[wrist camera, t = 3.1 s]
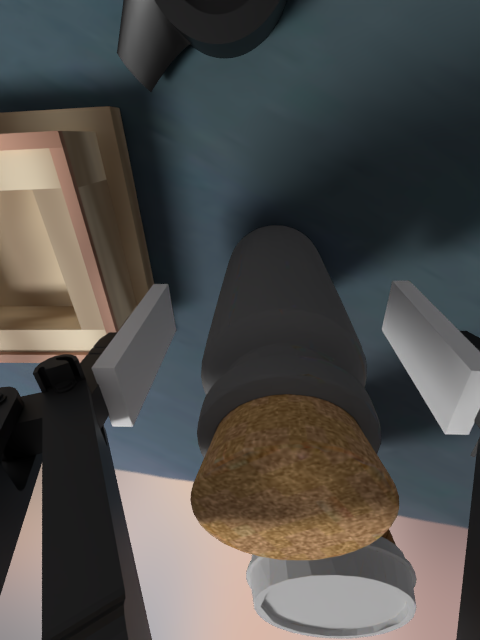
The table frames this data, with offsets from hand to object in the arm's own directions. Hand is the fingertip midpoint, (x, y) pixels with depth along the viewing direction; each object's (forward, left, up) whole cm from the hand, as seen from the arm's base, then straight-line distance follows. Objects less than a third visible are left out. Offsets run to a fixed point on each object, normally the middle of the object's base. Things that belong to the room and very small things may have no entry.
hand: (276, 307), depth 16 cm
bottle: (0, 0, -5) cm, 5 cm away
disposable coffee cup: (-3, +15, -5) cm, 16 cm away
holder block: (+15, -2, -5) cm, 16 cm away
